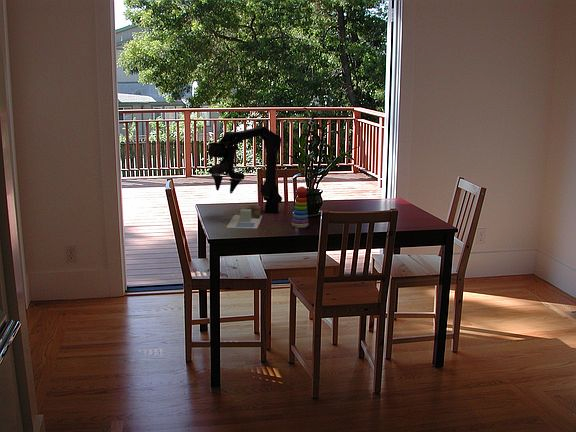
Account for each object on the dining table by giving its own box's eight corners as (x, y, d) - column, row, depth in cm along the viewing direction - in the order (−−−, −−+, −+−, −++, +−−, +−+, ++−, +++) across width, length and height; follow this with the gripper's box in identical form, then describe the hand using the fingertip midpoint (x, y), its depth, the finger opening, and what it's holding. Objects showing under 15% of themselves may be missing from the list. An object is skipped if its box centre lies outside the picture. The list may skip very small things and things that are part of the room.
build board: (262, 217, 337) (262, 215, 337) (256, 230, 311) (257, 228, 311) (234, 216, 338) (234, 214, 338) (226, 229, 312) (226, 227, 312)
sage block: (251, 219, 328) (251, 209, 327) (250, 221, 323) (250, 211, 322) (241, 219, 328) (241, 209, 327) (239, 221, 324) (239, 211, 323)
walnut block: (260, 215, 336) (260, 205, 335) (259, 218, 330) (259, 208, 329) (248, 215, 337) (248, 205, 336) (246, 218, 331) (246, 208, 330)
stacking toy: (296, 228, 314) (297, 188, 310) (288, 225, 321) (288, 185, 317) (311, 227, 318) (312, 187, 314) (303, 223, 325) (304, 184, 321)
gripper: (202, 155, 322) (198, 188, 324) (230, 160, 310) (225, 194, 312) (219, 157, 330) (215, 189, 332) (247, 162, 319) (242, 195, 320)
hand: (224, 191), depth 324 cm, fingers open, 9 cm apart
